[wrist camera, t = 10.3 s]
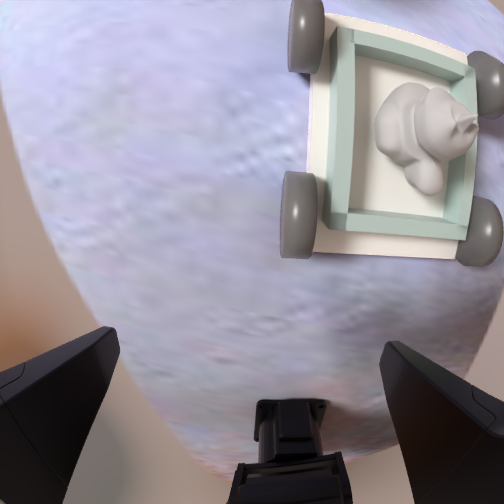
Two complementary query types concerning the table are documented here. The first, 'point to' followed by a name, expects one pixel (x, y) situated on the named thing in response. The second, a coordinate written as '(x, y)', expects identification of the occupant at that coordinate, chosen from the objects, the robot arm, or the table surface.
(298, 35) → the toy chassis
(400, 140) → the white figurine
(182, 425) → the table surface
